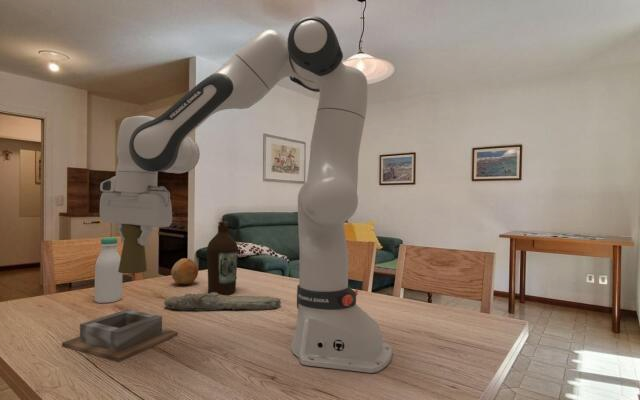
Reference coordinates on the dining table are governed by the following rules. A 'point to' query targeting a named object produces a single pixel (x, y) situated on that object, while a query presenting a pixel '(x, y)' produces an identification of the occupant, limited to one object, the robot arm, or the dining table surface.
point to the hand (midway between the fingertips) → (133, 244)
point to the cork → (132, 251)
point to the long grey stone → (221, 302)
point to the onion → (184, 271)
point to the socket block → (120, 335)
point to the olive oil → (222, 262)
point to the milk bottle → (108, 273)
